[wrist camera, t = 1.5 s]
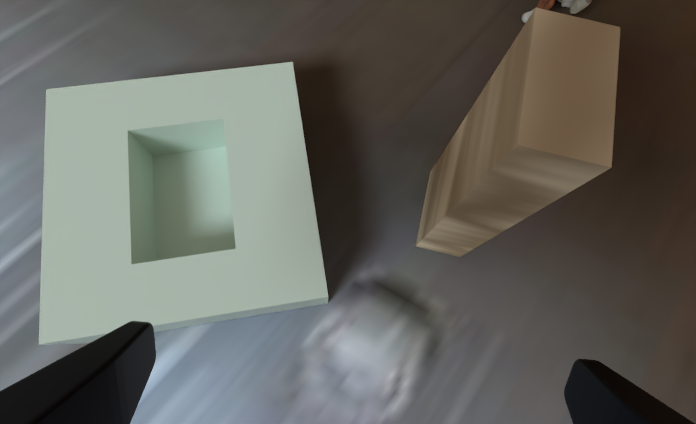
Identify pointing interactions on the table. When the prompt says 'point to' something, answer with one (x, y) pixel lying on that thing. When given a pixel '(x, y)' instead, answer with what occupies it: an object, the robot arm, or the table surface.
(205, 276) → the end cap
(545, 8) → the bull figurine
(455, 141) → the slat
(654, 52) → the table surface
